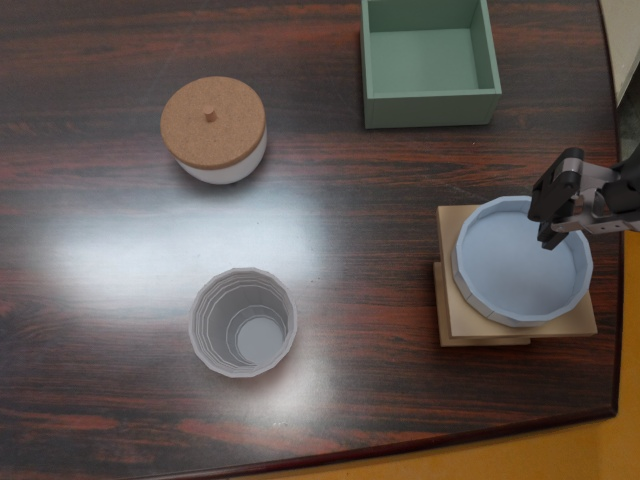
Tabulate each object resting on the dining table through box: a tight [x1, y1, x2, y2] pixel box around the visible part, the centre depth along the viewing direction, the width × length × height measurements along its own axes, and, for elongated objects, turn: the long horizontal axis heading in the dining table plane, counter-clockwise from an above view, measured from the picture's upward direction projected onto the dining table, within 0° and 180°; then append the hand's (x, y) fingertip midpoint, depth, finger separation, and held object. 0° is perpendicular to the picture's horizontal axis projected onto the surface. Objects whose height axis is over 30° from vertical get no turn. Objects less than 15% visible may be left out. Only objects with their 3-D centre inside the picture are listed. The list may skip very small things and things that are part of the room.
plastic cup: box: [187, 266, 298, 378], centre depth 57 cm, size 11×11×12 cm
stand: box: [432, 204, 598, 348], centre depth 57 cm, size 13×13×14 cm
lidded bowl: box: [159, 75, 268, 185], centre depth 67 cm, size 13×13×11 cm
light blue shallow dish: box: [451, 195, 594, 327], centre depth 49 cm, size 12×12×3 cm
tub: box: [359, 0, 503, 130], centre depth 72 cm, size 17×17×7 cm
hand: (605, 253), depth 40 cm, fingers open, 8 cm apart
